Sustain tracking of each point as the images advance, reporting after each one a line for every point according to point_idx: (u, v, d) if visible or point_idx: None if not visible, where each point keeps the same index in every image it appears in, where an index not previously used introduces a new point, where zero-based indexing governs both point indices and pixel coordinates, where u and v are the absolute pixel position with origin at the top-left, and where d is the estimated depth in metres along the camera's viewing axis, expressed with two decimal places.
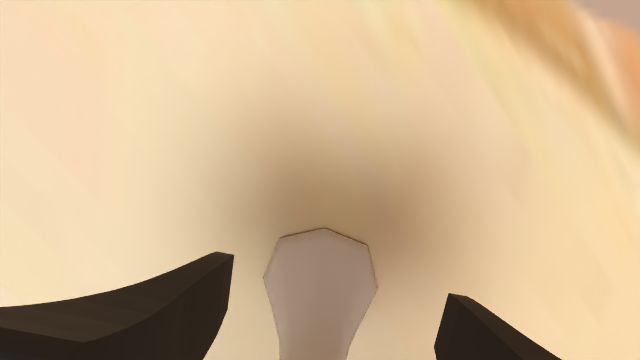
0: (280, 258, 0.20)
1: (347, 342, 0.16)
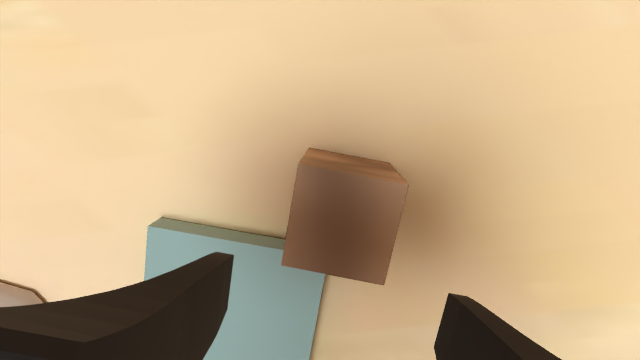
0: None
1: None
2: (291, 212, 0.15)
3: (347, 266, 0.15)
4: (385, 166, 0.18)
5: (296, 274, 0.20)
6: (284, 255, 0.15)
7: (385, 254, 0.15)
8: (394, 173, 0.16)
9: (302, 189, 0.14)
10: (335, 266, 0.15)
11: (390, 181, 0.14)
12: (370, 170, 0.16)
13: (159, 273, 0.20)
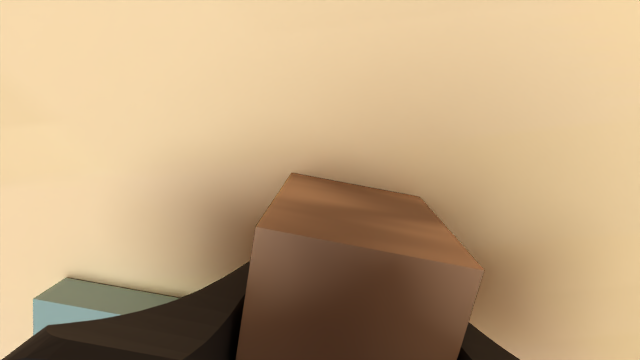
0: None
1: None
2: (244, 320, 0.07)
3: None
4: (418, 208, 0.11)
5: None
6: None
7: None
8: (440, 229, 0.09)
9: (265, 277, 0.07)
10: None
11: (446, 262, 0.07)
12: (398, 226, 0.09)
13: None
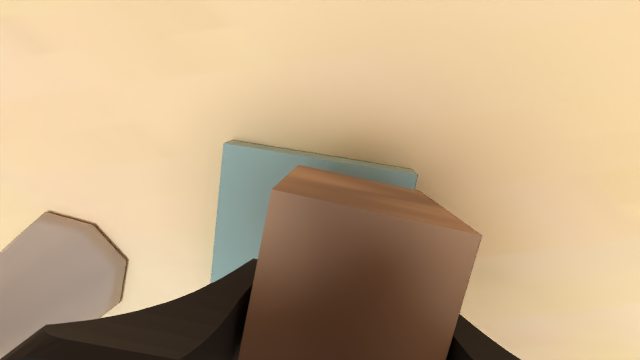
0: None
1: None
2: (256, 280, 0.08)
3: None
4: (418, 196, 0.11)
5: None
6: None
7: None
8: (440, 209, 0.10)
9: (278, 238, 0.08)
10: None
11: (446, 227, 0.07)
12: (400, 204, 0.09)
13: (234, 196, 0.19)
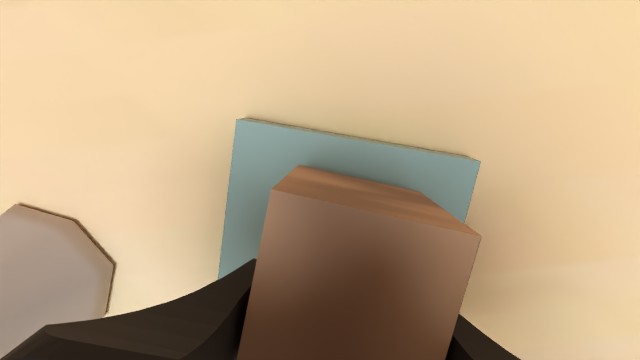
0: None
1: None
2: (255, 281, 0.08)
3: None
4: (418, 197, 0.11)
5: (435, 185, 0.14)
6: None
7: None
8: (440, 210, 0.10)
9: (277, 238, 0.08)
10: None
11: (446, 228, 0.07)
12: (400, 204, 0.09)
13: (248, 186, 0.15)
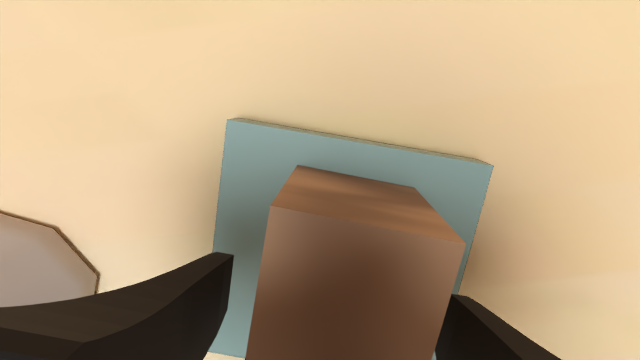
0: None
1: None
2: (259, 287, 0.08)
3: None
4: (412, 196, 0.12)
5: (444, 191, 0.13)
6: (248, 357, 0.09)
7: (421, 359, 0.09)
8: (431, 213, 0.10)
9: (278, 249, 0.08)
10: None
11: (433, 237, 0.08)
12: (393, 209, 0.10)
13: (240, 192, 0.14)
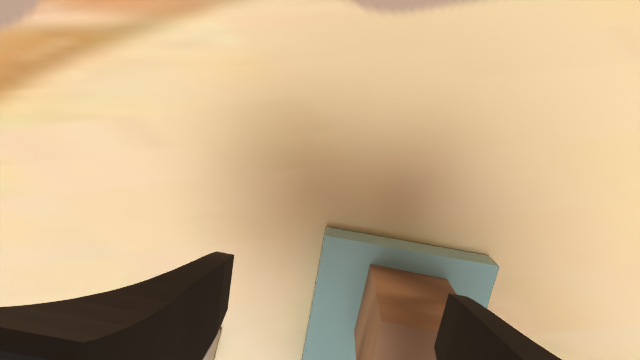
0: None
1: None
2: None
3: None
4: (448, 292, 0.19)
5: (466, 281, 0.20)
6: None
7: None
8: None
9: (384, 343, 0.15)
10: None
11: None
12: (441, 311, 0.17)
13: (331, 280, 0.21)
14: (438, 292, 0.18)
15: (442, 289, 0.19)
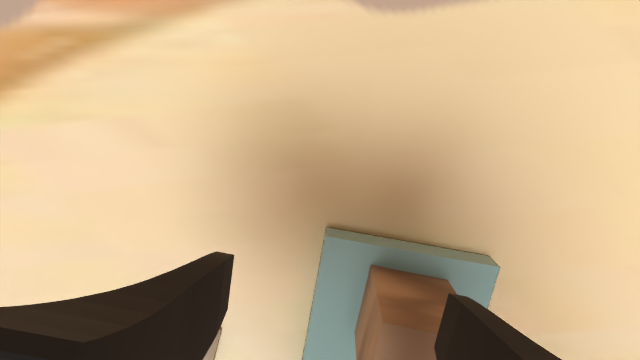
0: None
1: None
2: None
3: None
4: None
5: (467, 282, 0.20)
6: None
7: None
8: None
9: (385, 344, 0.15)
10: None
11: None
12: None
13: (331, 281, 0.21)
14: (439, 293, 0.18)
15: (443, 290, 0.19)
